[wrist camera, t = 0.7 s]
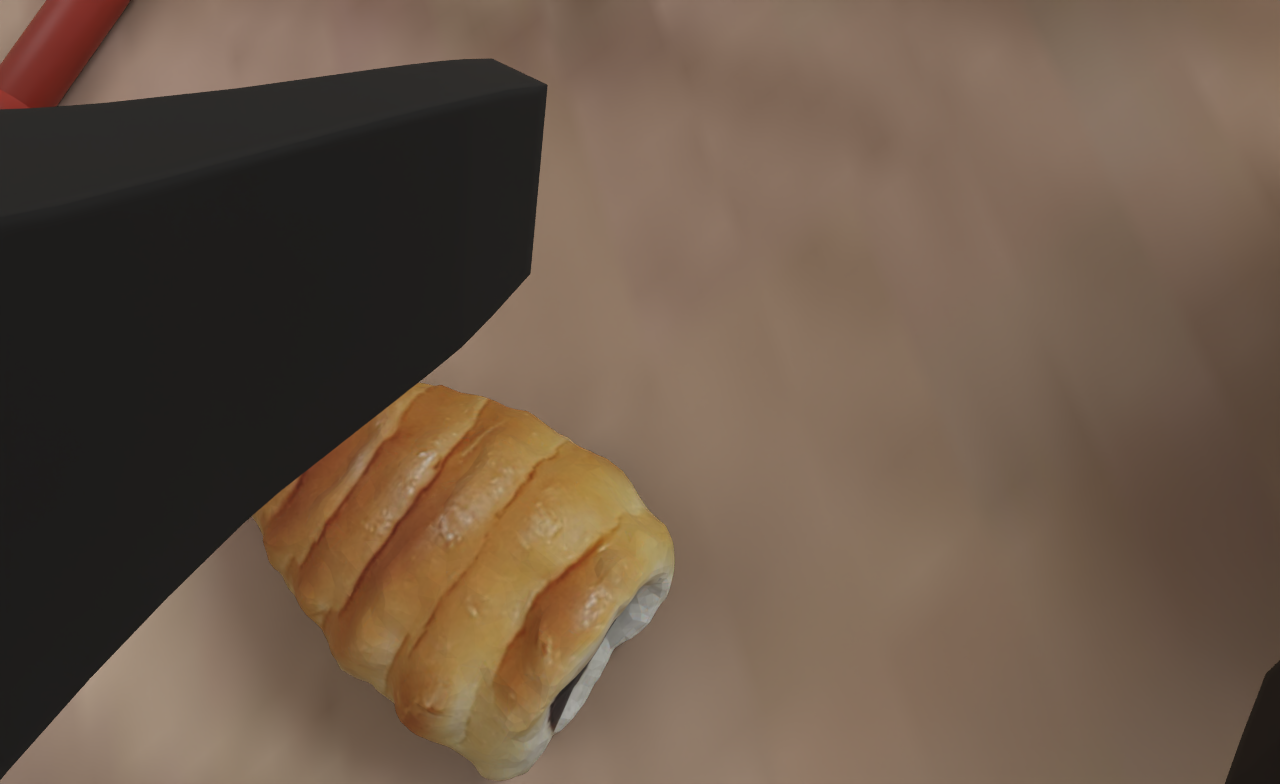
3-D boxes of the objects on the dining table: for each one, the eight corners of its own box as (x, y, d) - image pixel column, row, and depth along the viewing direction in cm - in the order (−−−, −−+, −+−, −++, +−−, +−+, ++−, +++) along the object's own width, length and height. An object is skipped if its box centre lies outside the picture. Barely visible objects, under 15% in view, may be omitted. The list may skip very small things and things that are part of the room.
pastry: (206, 547, 25) (117, 525, 21) (386, 315, 26) (331, 256, 22) (532, 799, 23) (495, 823, 19) (711, 538, 24) (708, 514, 21)
